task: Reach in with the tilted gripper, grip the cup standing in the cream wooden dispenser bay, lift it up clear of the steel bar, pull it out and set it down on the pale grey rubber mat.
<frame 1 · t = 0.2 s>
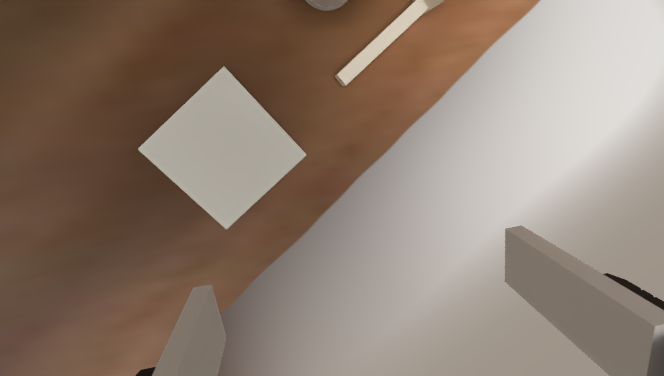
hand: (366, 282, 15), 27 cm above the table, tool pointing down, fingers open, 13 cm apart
mat: (225, 151, 39), on the table
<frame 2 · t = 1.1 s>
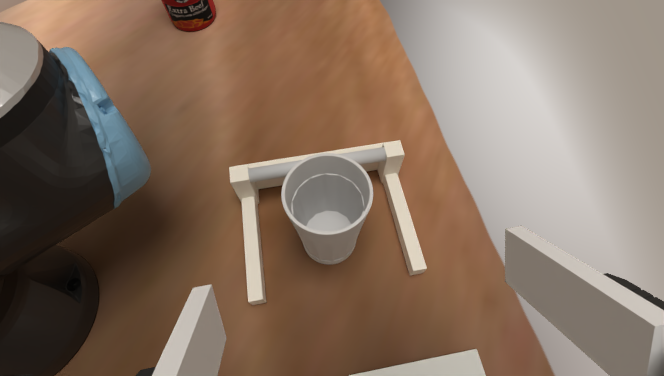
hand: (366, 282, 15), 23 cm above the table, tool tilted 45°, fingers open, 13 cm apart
dispenser bay: (328, 229, 41), on the table
cup: (329, 238, 41), on the table
canned food: (195, 18, 60), on the table
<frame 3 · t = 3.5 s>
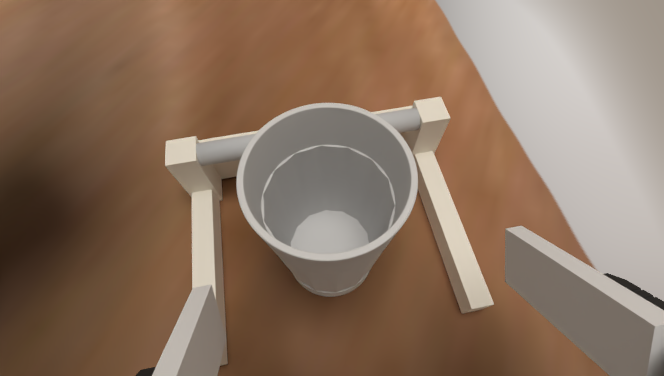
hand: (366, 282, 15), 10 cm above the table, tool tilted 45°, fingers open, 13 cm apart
dispenser bay: (328, 240, 26), on the table
cup: (330, 253, 26), on the table
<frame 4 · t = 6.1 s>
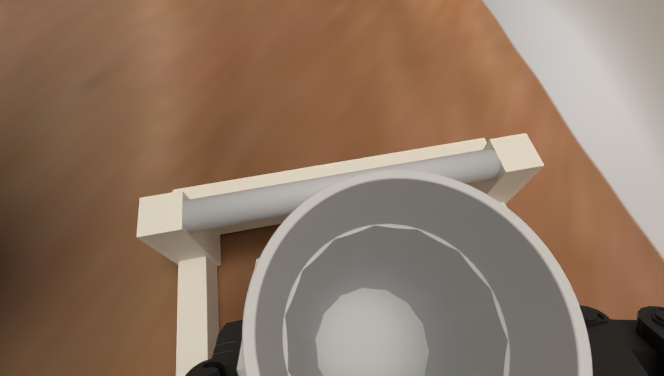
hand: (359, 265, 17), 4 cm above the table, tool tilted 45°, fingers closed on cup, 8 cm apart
dispenser bay: (365, 326, 19), on the table
cup: (368, 347, 19), on the table, touching gripper
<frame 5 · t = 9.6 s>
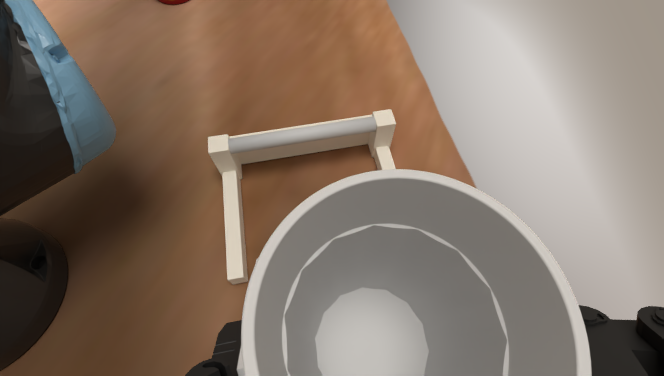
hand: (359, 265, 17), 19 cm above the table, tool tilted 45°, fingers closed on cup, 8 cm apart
dispenser bay: (315, 205, 39), on the table
cup: (368, 346, 19), point 14 cm above the table, touching gripper
when the fingers open (6 cm above the table, at t = 13.0 s): cup stays where it is, resting on mat.
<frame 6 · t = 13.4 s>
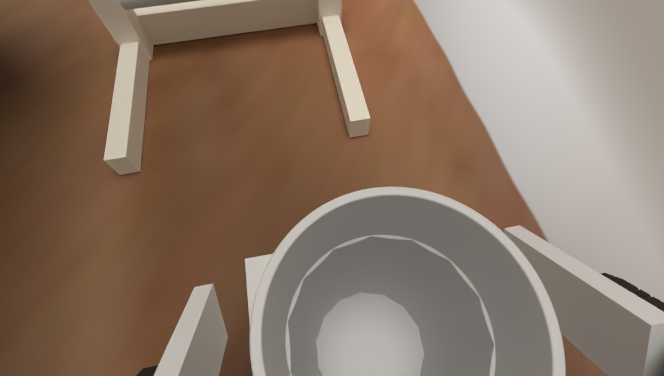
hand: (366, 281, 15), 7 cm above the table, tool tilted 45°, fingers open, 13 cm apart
dispenser bay: (241, 87, 30), on the table
cup: (367, 349, 20), resting on mat
mat: (367, 348, 20), on the table
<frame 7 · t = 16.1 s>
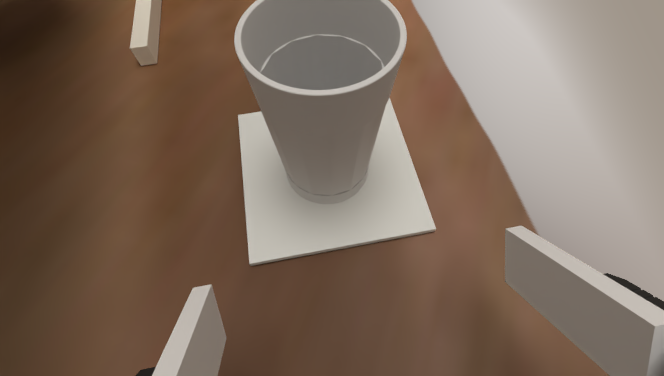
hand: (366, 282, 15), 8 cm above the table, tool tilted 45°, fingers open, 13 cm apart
dispenser bay: (236, 7, 37), on the table
cup: (327, 168, 27), resting on mat
mat: (327, 169, 27), on the table
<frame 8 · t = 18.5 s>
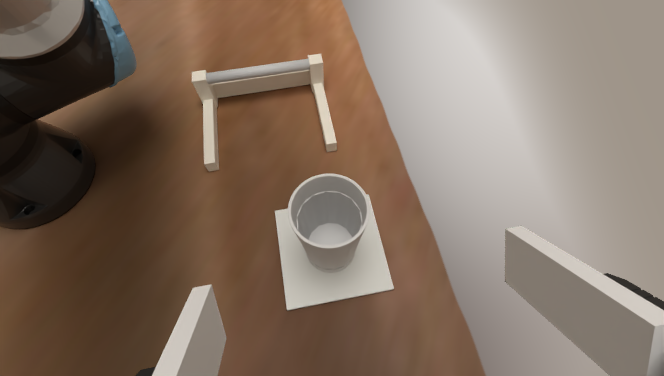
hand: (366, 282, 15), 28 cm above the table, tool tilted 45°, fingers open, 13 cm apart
dispenser bay: (268, 123, 54), on the table
cup: (330, 248, 44), resting on mat
mat: (331, 248, 45), on the table
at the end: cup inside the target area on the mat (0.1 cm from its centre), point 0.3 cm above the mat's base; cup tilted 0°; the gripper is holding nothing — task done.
